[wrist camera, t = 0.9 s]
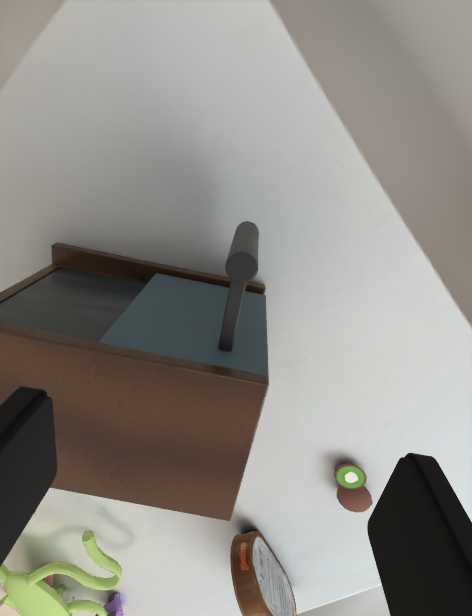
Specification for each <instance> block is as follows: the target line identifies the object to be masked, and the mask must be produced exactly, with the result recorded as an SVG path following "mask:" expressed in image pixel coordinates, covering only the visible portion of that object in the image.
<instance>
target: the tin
mask: <svg viewBox="0 0 472 616" xmlns="http://www.w3.org/2000/svg"><path fill="white" fill-rule="evenodd" d="M230 558H231V573H232V580H233V586H234V591H235V595H236V599H237V602H238V605H239V608H240V610H241V613H242V615H243V616H297V615H296V604H295V599H294V595H293V592H292V588H291V585H290V583H289V580H288V577H287V575H286V573H285V571H284V570H283V568H282V566H281V565H280V563H279V561H278V560H277V558H276V556H275V555H274V553H273V552H272V550H271V548H270V547H269V545H268V544H267V542H266V540H265V539H264V537H263V536H262V535H261V534H260V533H259V532H258V531H252V532H248V533H245V534H241V535H240V534H238V535H236V536H235V537H234V539H233V541H232V545H231V554H230Z"/></svg>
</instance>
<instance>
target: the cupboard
mask: <svg viewBox="0 0 472 616" xmlns="http://www.w3.org/2000/svg"><path fill="white" fill-rule="evenodd" d="M52 263H53V264H51V265H49V266H48V267H46V268H44V269H42V270H40V271H38V272H37V273H35V274H33V275H31V276H29V277H28V278H26V279H24V280H22V281H20V282H19V283H17V284H15V285H13V286H11V287H9V288H8V289H6V290H4V291H2V292H0V405H1V404H2V403H3V402H4V401H5V400H6V399H7V398H8V397H9V396H10V395H11V394H12V393H13V392H14V391H15V390H16V389H18V388H19V387H21V386H25V387H31V388H37V389H42V390H45V391H46V392H47V396H49V397H51V398H52V401H53V414H54V427H55V440H56V454H57V473H56V477H55V479H54V481H53V483H52V485H51V486H50V488H55V489H61V490H66V491H71V492H77V493H82V494H88V495H93V496H98V497H104V498H109V499H114V500H120V501H125V502H130V503H136V504H141V505H146V506H152V507H157V508H162V509H168V510H173V511H178V512H184V513H189V514H195V515H200V516H205V517H211V518H216V519H221V520H227V521H230V520H231V517H232V513H233V510H234V506H235V503H236V499H237V496H238V492H239V489H240V485H241V482H242V478H243V475H244V471H245V467H246V464H247V460H248V457H249V453H250V450H251V446H252V443H253V439H254V436H255V432H256V429H257V425H258V422H259V418H260V415H261V411H262V408H263V404H264V401H265V397H266V394H267V390H268V386H269V377H268V376H267V375H263V374H258V373H252V372H247V371H242V370H237V369H232V368H227V367H222V366H217V365H212V364H207V363H202V362H196V361H191V360H186V359H181V358H176V357H171V356H166V355H161V354H156V353H151V352H146V351H140V350H135V349H130V348H125V347H120V346H115V345H110V344H105V343H100V342H99V341H100V339H101V338H102V337H103V336H104V335H105V334H106V332H107V331H108V330H109V329H110V328H111V326H112V325H113V324H114V323H115V322H116V320H117V319H118V318H119V317H120V316H121V314H122V313H123V312H124V311H125V310H126V309H127V307H128V306H129V305H130V304H131V303H132V301H133V300H134V299H135V298H136V297H137V295H138V294H139V293H140V292H141V291H142V289H143V288H144V287H145V286H146V285H147V284H148V282H149V281H150V280H151V279H152V278H153V276H154V275H155V274H156V273H158V274H163V275H168V276H173V277H178V278H183V279H188V280H193V281H198V282H203V283H208V284H213V285H218V286H223V287H228V288H230V283H231V278H228V277H223V276H218V275H213V274H208V273H203V272H198V271H193V270H188V269H183V268H178V267H173V266H168V265H163V264H159V263H154V262H149V261H144V260H139V259H134V258H129V257H124V256H119V255H114V254H109V253H104V252H99V251H94V250H89V249H84V248H79V247H74V246H69V245H64V244H59V243H55V244H53V245H52ZM245 291H248V292H253V293H258V294H263V295H264V293H265V285H263V284H258V283H253V282H247V283H246V287H245Z"/></svg>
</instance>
